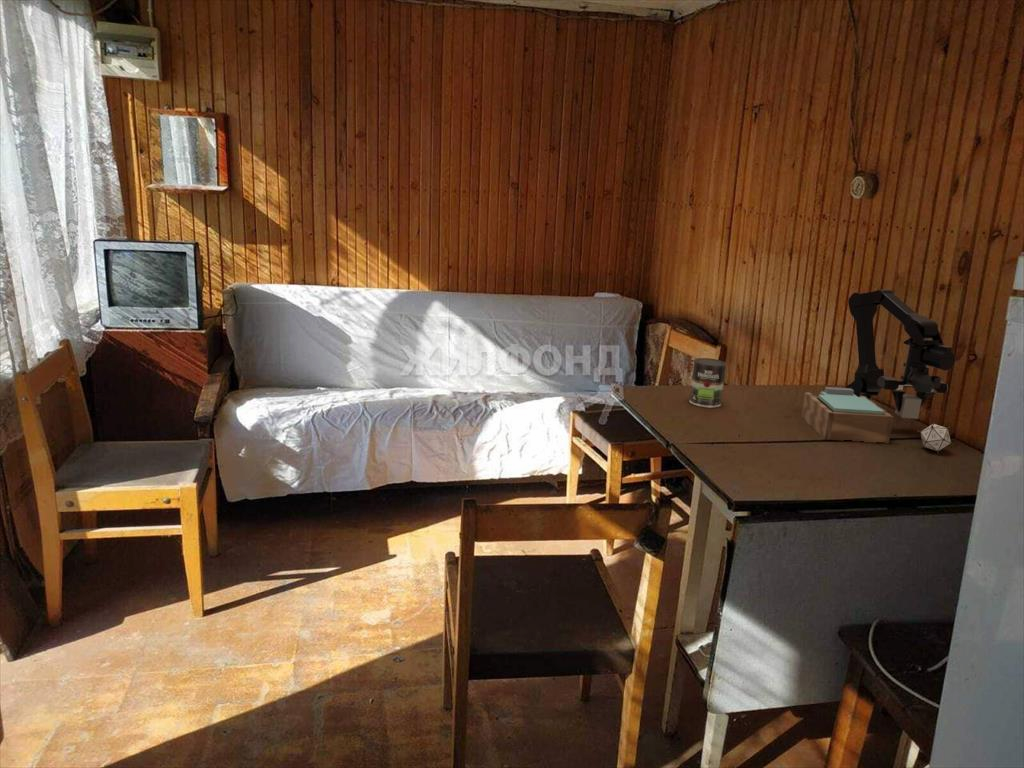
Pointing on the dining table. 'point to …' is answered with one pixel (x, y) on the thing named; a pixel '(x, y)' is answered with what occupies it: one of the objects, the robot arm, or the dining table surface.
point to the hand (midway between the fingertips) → (907, 411)
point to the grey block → (909, 407)
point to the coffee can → (707, 382)
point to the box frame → (846, 422)
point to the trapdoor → (847, 401)
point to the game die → (935, 437)
